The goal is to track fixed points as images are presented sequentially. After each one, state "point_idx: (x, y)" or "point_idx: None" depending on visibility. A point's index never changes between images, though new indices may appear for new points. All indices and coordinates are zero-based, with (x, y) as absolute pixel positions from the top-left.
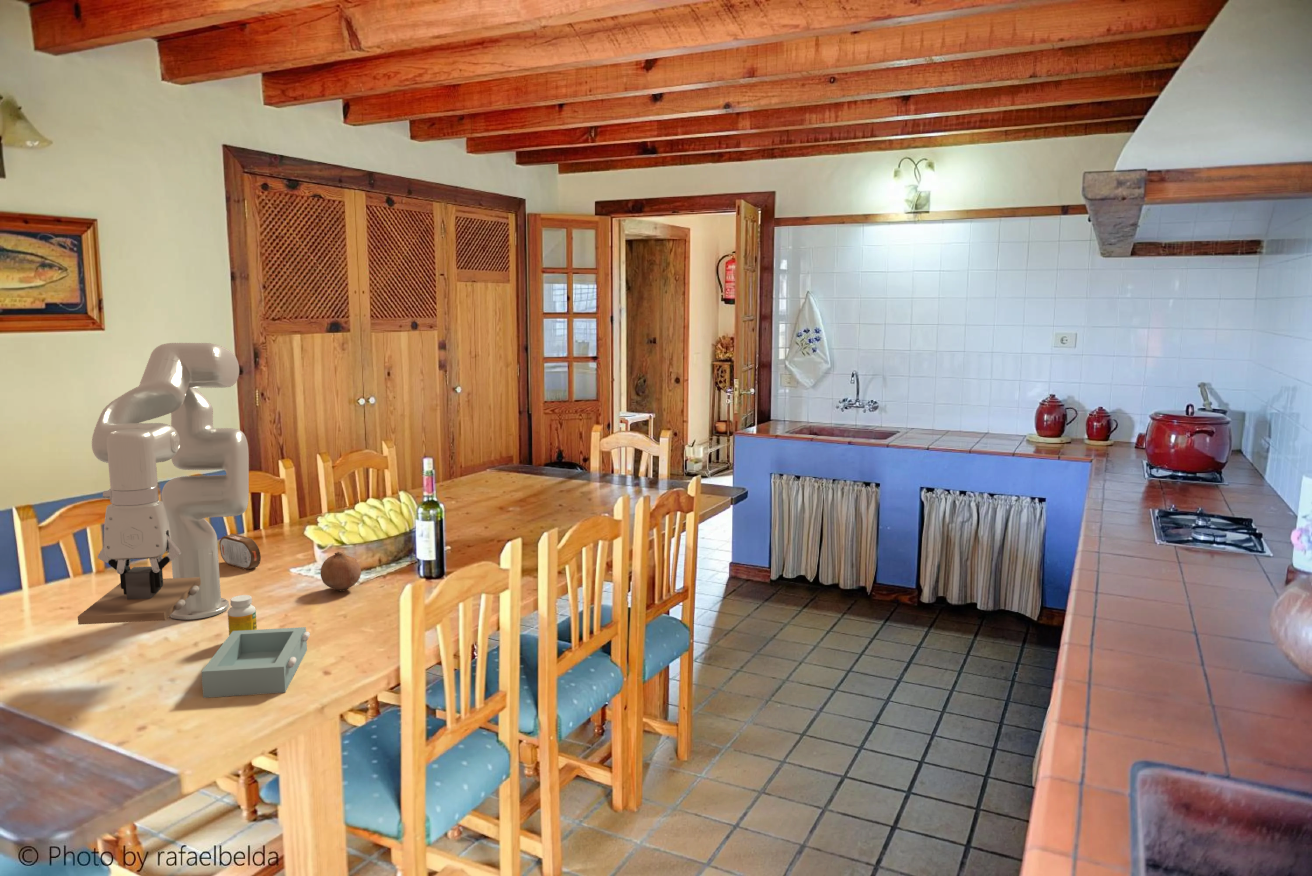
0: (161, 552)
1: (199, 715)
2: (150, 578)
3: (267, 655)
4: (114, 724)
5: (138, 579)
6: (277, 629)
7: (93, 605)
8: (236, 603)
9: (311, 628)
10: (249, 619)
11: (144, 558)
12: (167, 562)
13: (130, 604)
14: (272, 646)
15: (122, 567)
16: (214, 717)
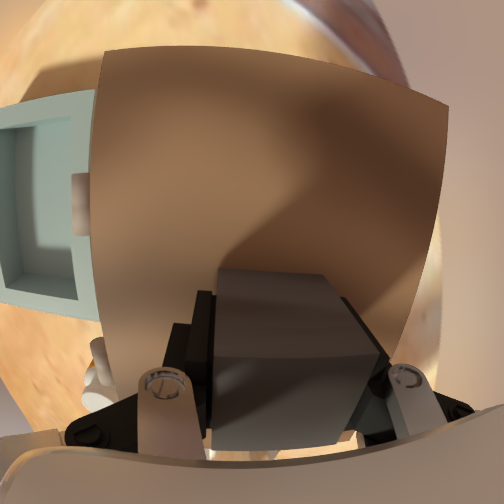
0: (8, 470)
1: (115, 34)
2: (213, 342)
3: (51, 259)
4: (250, 22)
5: (286, 329)
6: (29, 305)
7: (429, 225)
8: (99, 390)
9: (52, 365)
10: (91, 363)
11: (237, 463)
12: (79, 421)
13: (293, 196)
14: (46, 280)
15: (405, 396)
16: (93, 28)
